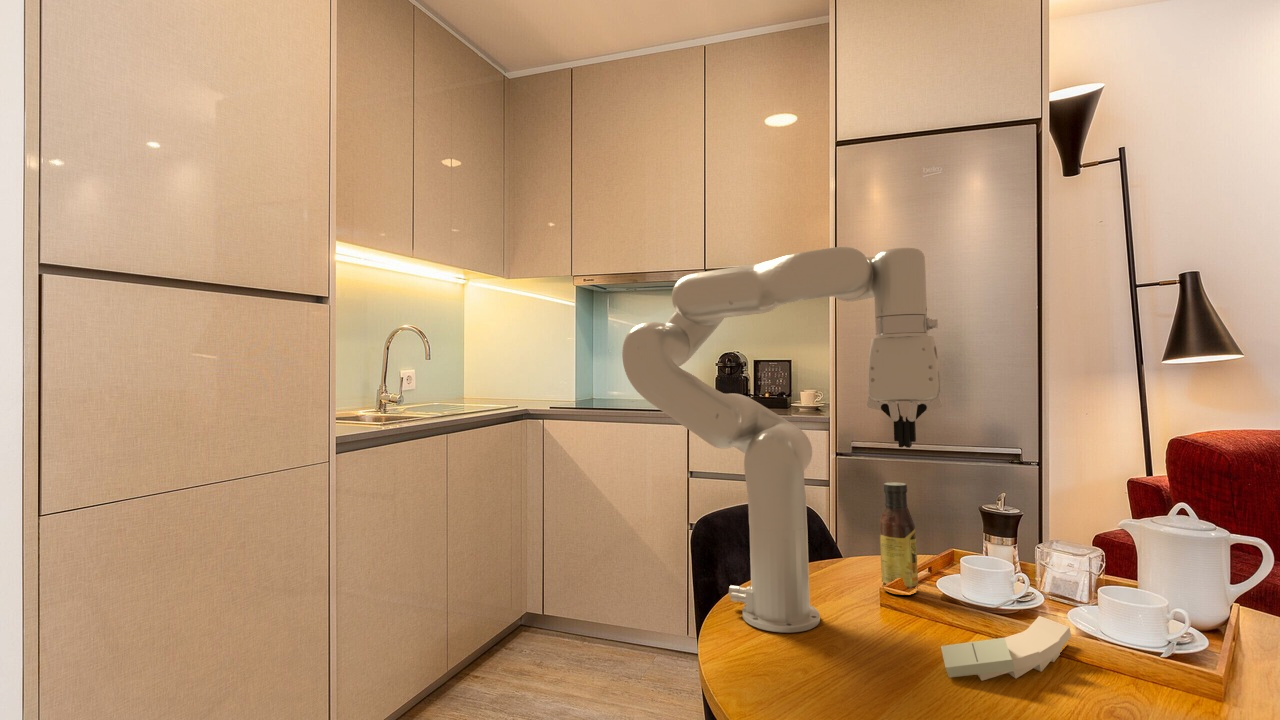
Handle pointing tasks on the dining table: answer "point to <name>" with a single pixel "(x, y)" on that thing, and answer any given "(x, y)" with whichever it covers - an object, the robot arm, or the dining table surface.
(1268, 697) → the dining table surface
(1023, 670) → the domino
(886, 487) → the sauce bottle
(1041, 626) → the domino
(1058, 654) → the domino
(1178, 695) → the dining table surface
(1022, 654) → the domino
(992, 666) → the sage domino
